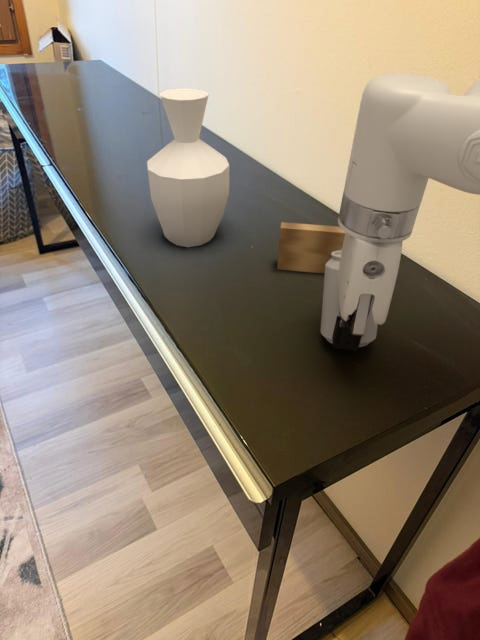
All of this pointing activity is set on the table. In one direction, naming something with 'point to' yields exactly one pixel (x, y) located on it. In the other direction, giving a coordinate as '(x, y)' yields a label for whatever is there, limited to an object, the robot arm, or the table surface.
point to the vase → (188, 174)
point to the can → (332, 304)
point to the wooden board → (308, 246)
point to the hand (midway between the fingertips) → (344, 345)
